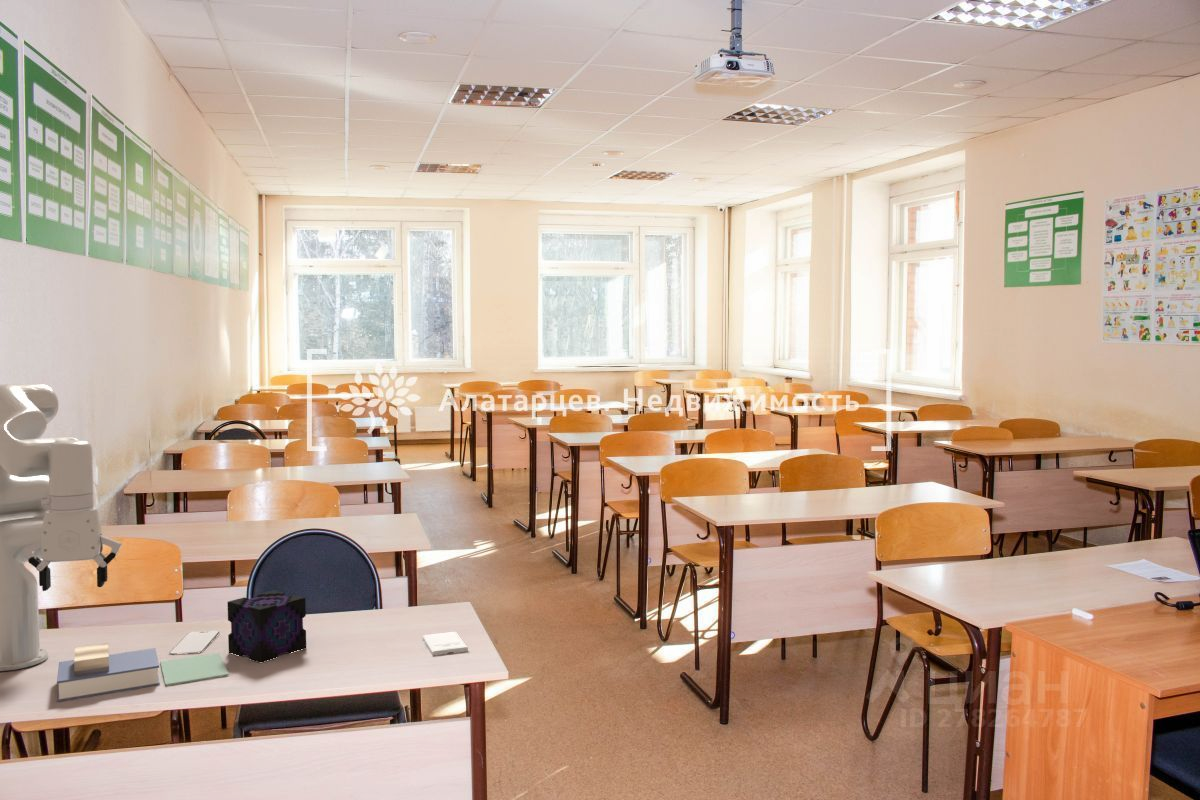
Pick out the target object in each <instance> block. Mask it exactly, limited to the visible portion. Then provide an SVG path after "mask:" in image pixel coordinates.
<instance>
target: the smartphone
mask: <svg viewBox="0 0 1200 800" xmlns="http://www.w3.org/2000/svg"><path fill="white" fill-rule="evenodd" d="M218 634H219V635H220V631H219V630H205V631H203V630H201V631H190V632H188V633H187V634H186V635H185V636H184V637H183V638H182V639H181V640H180V641H179V642H178V643H177V644H176V645H175V646H176V647H175V646H174V647H173V648H171V650H170V651H169V653H170V654H177V653H198V652H202V651H203V650H204V649H205V648H206V647H207V646H208V645H209V644H210V643H211V641H212V640H213V639H214V638H215V637H216V636H217V635H218ZM211 644H212V643H211ZM211 644H210V645H211ZM210 645H209V646H210ZM209 646H208V647H209ZM208 647H207V648H208ZM207 648H206V649H207ZM206 649H205V650H206ZM205 650H204V651H205ZM204 651H203V652H204ZM203 652H202V653H203ZM169 653H168V654H169ZM170 654H169V655H170Z"/></svg>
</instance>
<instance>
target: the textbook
mask: <svg viewBox="0 0 1200 800" xmlns="http://www.w3.org/2000/svg"><path fill="white" fill-rule="evenodd" d="M158 668H160V664H159V659H158V654H157V650H156V647H154V648H153V647H152V648H147V649H140V650H134V651H127V652H119V653H113V654H109V671H107V672H101V673H94V674H88V675H81V676H75V669H74V659H73V660H65V661H60V662H59V661H58V667H57V678H56V684H58V691H57V692H58V693H57V702H63V701H70V700H76V699H82V698H88V697H94V696H99V695H106V694H112V693H119V692H124V691H129V690H136V689H142V688H149V687H154V686H155V687H156V686H160V685H161V684H160V683H161V682H160V678H159V671H158Z"/></svg>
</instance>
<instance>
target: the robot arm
mask: <svg viewBox="0 0 1200 800" xmlns="http://www.w3.org/2000/svg"><path fill="white" fill-rule="evenodd" d="M58 411H59V399H58V395H57V394H56V392H55V391H54V389H52V388H51V387H50V386H48V385H46V384H42V383H19V384H18V383H11V384H10V383H7V384H0V672H7V671H9V672H10V671H16V670H21V669H25V668H29V667H32V666H35V665H38V664H41V663H42V662H44V661H47V659H48V658H49V652H48V650H47V649H46V650H45V649H43V648H40V620H39V618H40V617H39V591H38V590H39V589H38V587H41V589H42V592H46V591H48V590H49V589H50V588H51V587H52V586H51V584H52V581H51V577H52V576H51V568H50V567H49V565H50V564H51V563H57V562H59V563H60V562H61V563H62V562H75V561H76V562H77V561H78V562H79V561H88V560H89V561H90V560H93V561H94V562H95V563H96V564H97V565H98V567H97V568H96V585H97V587H98V588H102V587H103V586H104V585H105V583H106V582H108V565H109V564H110V563H111V562H112V560H113V559H115V558H116V557H117V555H118V553H119V552H120V549H121V548H122V544H123V543H121V542H120V541H118V540H115V539H112V538H110V537H107V536H105V535H103V532H102V526H101V525H102V523H101V518H100V514H99V511H98V508H97V507H96V506H94V475H93V473H94V472H93V467H94V466H93V448H92V445H91V443H89V441H87V440H79V439H78V438H76V437H71V436H60V437H58V436H57V437H56V436H55V437H42V436H43V434H44V433H45V431H46V430H47V426H48V424H49V423H51V422H52V421H53V420H54V418H55V417H56V416H57V414H58ZM103 546H108V547H110V548H111V550H110V552H109V554H108V555H107V556H105V554H104V553H103V548H104V547H103ZM27 562H28V564H30V565H31V566H33V567H34V568H35V569H36V571H38V579H37V577H36V576H35V574H34V573H32V572H31V571H30V570H29V569H28V568H27V567H26V566H25V563H27ZM37 580H39V582H38V581H37ZM38 583H39V586H38Z"/></svg>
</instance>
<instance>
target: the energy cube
mask: <svg viewBox="0 0 1200 800" xmlns="http://www.w3.org/2000/svg"><path fill="white" fill-rule="evenodd" d="M306 606H307V605H306V597H305V596H300V595H295V594H291V595H290V596H287V595H285V592H283V591H277V590H274V589H273V590H270V591H265V592H260V593H257V594H256V596H255V597H251V598H247V597H240V598H237V599H232V600H228V601H227V621H228V622H230V631H231V632H230V633H229V634H228V640H227V642H228V654H229V653H233V654H236V655H239V656H241V657H245V656H246V657H248V660H249V659H251V660H250V661H252V660H254V661H253V662H255V661H258V662H257V663H259V662H263V663H265V662H264V661H266V662H268V661H267V660H269V661H271V660H270V659H272V660H274V659H273V658H276V657H278V658H279V655H282V654H283V655H284V654H286V653H287V652H288V654H290V653H291V652H294V651H297V650H300V651H302V650H301V649H303V650H305V649H304V648H306V649H307V630H306V629H305V628H304V622H303V621H304V618H306V614H307V613H306V609H307V607H306ZM297 652H298V651H297ZM294 653H295V652H294ZM291 654H292V653H291ZM236 655H235V656H236ZM243 655H244V656H243ZM239 656H238V657H239ZM276 659H277V658H276Z"/></svg>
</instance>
